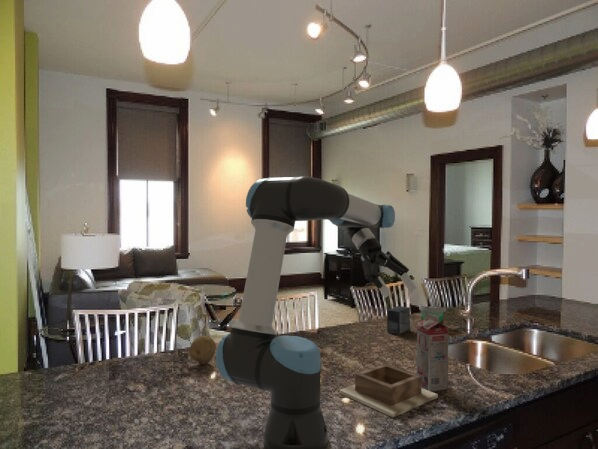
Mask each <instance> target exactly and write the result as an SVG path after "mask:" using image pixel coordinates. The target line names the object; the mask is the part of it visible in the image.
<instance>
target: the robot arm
mask: <svg viewBox="0 0 598 449" xmlns="http://www.w3.org/2000/svg"><path fill="white" fill-rule="evenodd" d="M246 194H247V195H246V198H245V207H246V208H247V209H246V212H247V215H248V216H249V217H250V218H251V220H250V223H251V225H252V227H253V228H254V230H255V231H254V234H253V241H252V247H251V252H250V256H249V257H250V258H249V263H248V268H247V274H246V278H245V285H244V290H243V295H242V300H241V306H240V311H239V315H238V316H239V317H238V320H237V321H236V322H235V323H234V324H232V325H231V326H230V332H228V333H227V334H225V335H223V337H222V338H221V340H220V341H219V343H218V344H217V346H216V350H215V353H216V354H215V361H216V362H215V363H216V368H217V370H218V372H219V373H220V376H221V377H222V378H223V379H225V380H226V381H228V382H232V383H234V384H235V385H237V386H241V385H242V386H245V387H248V388H253V389H258V390H261V391H266V392H268V393H270V408H269V412H268V416H267V419H266V423H265V426H264V428H263V430H262V431H263V432H262V436H263V437H262V438H263V439H262V441H263V445H264V447H265V449H325V448H326V447H327V444H328V441H329V439H328V436H329V432H328V428H327V424H326V420H325V418H324V415H323V413H322V409H321V387H322V386H321V385H322V384H321V383H322V382H321V380H322V379H321V377H322V376H321V374H322V372H321V371H322V361H321V351H320V348H319V347H318V345H317V344H316V343H315V342H314V341H312V340H310V339H309V338H305V337H302V336H296V335H288V334H287V335H279V336H277V331H276V330H275V329H274V327H273V321H274V315H275V309H276V304H277V297H278V291H279V286H280V280H281V275H282V274H281V273H282V269H283V268H282V267H283V261H284V257H285V256H284V255H285V249H286V244H287V238H288V235H289V234H291V233H292V232H293V231H294V230H295V224H296V222H306V221H319V220H321V221H322V220H323V221H324V220H328V221H329V222H331V224H332V225H334V226H336V227H337V228H339V229H341V230H342V231H343V232H345V233H346V234H347V235H348V237H349V238H350V240H351V241H352V243H353V244H354V245H355V247H356V249H357V250H358V252H359V253H360V255H361V256H360V257H359V260H360V263H361V265H362V270H363V273H364V278H365V281H368V282H369V283H370V284H374V285H375V287H376V288H377V289H378V290H379V291H380V293H381V295H382V296H383V297H384V299H386V298H387V297H388V296H389V295H391V293H392V292H391V291H390V289H389V287H388V286H387V284H386V283H385V281H384V280H383V279H382V278H381V276H378V272H379V271H378V269H379V267H384V268H387V269H389V270H391V271H392V272H393V273H395V274H396V275H399V276H400V279H401V281H402V282H403V285H405V287H406V288H407V289H408V291H409V292H410V293H411V294H412V293H413V292H415V291H416V289H418V287H417V285H416V284H415V283H414V282H413V279H412V278H411V276H409V274H408V272H409V271H410V269H409V267H407V266H406V265H405V264H403V263H402V262H401V261H400V260H399V259H397V258H396V257H395V256H394V255H392V253H391V252H390V251H386V252H385V253H384V252H383V251H382V244H381V243H380V242H379V240H378V239H377V238H376V236H375V235H374V233H373V232H372V231H371V229H372V228H374V229H375V228H376V229H377V228H378V229H384V228H385V229H387V228H388V229H390V228H392V227H393V226H394V225H395V221H396V211H395V208H394V207H393V205H390V204H377V203H373V202H372V201H369V200H366V199H364V198H360V197H358V196H355V195H354V194H353V195H352V194H350V193H348V191H347V190H346V189H345V188H344V187H342V186H341V185H338V184H335V183H333V182H330V181H328V180H324V179H320V178H318V177H317V178H316V177H311V176H291V177H290V176H285V177H275V176H274V177H273V176H271V177H267V178H260V179H258V180H257V181H255V182H253V184H252V185H250V187H249V189H248V192H247V193H246Z"/></svg>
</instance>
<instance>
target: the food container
mask: <svg viewBox="0 0 598 449" xmlns="http://www.w3.org/2000/svg"><path fill="white" fill-rule="evenodd" d="M418 309H419V310H420V318H421V321H422V320H424V319H425V318H426V313H429V314H431V315H434V316H436V317H439V323H440V324H442V325H444V321H445V315H446V314H445V313H446V312H447V307H446V306H443V307H438V306H434V305H433V306H431V305H430V306H424V305H422V304H419V307H418Z"/></svg>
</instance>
